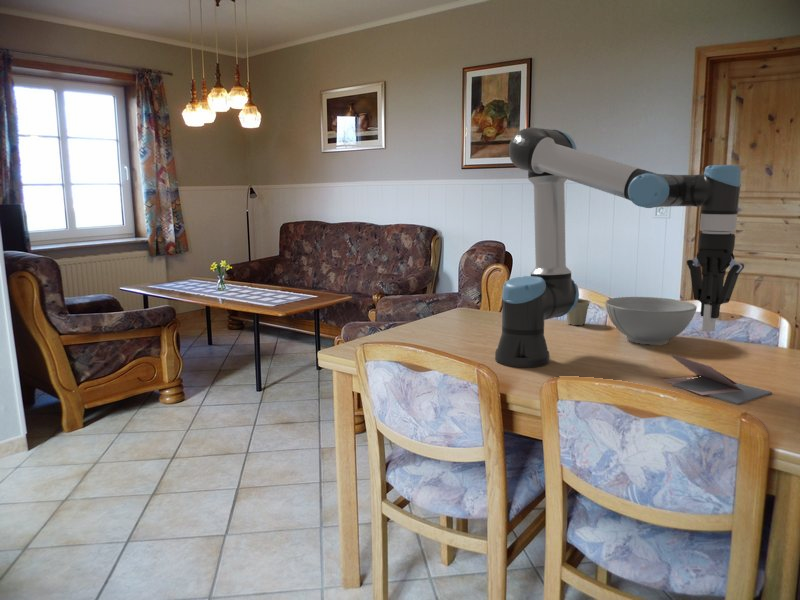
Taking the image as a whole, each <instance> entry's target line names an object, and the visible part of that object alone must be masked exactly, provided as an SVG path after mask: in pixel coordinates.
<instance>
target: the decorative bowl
mask: <svg viewBox="0 0 800 600" xmlns="http://www.w3.org/2000/svg"><path fill="white" fill-rule="evenodd" d="M604 304H605V309H606V313H607V315H608V317H609V320H610V321H611V322H612V324H613V325H614V327H615V328H616V329H617V330H618V331H619V332H620V333H621V334H623V335H625V336H626V339H628V340H627V341H629V342H630V343H634V342H635V343H634V344H638V343H640V345H645V344H650V345H649V346H661V345H660V344H663V345H666V344H665V343H667V344H668V343H669V341H670V339H673V338H675V337H677V336H678V335H680V334H681V333H682V332H683V331H685V330H686V329H687V327H688V326H690V323H691V322H692V320H693V318H694V316H695V314H696V311H697V308H698V307H697V305H696V304H694V303H691V302H689V301H685V300H679V299H672V298H666V297H652V296H621V297H620V296H619V297H613V298H608V299H606V300H605V303H604Z"/></svg>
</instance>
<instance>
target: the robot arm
mask: <svg viewBox="0 0 800 600" xmlns="http://www.w3.org/2000/svg"><path fill="white" fill-rule="evenodd" d="M508 155H509V159H510V161H511V163H512V164H513V165H514V166H515V167H516V168H518V169H520V170H523V171H527V179H528V181H529V182H530V183H531V184H532V185H533V202H534V205H533V206H534V209H533V211H534V217H533V218H534V246H535V247H534V248H535V250H534V252H535V253H534V255H535V257H534V258H535V267H534V269H532V270H531V272H530V275H529V276H527V275H526V276H525V275H524V276H518V277H517V276H515V277H514V278H509V279H508V280H506V281H505V282H504V283H503V286H502V293H501V299H502V305H501V306H502V308H501V309H502V310H501V315H502V316H501V334H500V339H499V342H498V344H497V348H496V349H495V352H494V353H495V355H494V359H495V361H496V362H497V363H498V362H499V364H501V365H504V366H508V367H515V368H537V367H543V366H546V365H548V364H550V357H551V356H550V351H549V350H548V345H547V341H546V338H545V321H546V320H550V319H554V318H560V317H563V316H566V314H567V313H569V312H571V311H572V310H573V309H574V308H575V306H576V305H577V302H578V299H580V291H579V287H578V285H577V283H575V280H574V279H572V270H571V269H570V268H568V267H567V262H566V261H567V260H566V209H565V208H566V205H565V204H566V202H565V197H566V196H565V183H566V181H567V180H568V181H571V182H574V183H578V184H580V185H584V186H586V187H590V188H592V189H595V190H599V191H601V192H605V193H607V194H610V195H614V196H617V197H620V198H623V199H626V200H628V201H630V202H632V204H633V205H635V206H638V207H640V208H645V209H652V208H666V207H667V208H670V207H671V208H672V207H701V210H700V220H699V221H700V222H699V231H701V233H699V235H698V245H697V248H698V252H697V253H696V257H694V258H692V259H687V260H686V264H687V267H688V268H689V272H690V280H691V288H692V294H693V299H694V300H697V301H698V302H700V303H701V305H700V317H702V318H703V319H702V329H701V331H702V332H705V333H706V332H707V333H709V332H714V331H715V330H716V319H718V318H719V317H720V311H721V305H723V304H727V303H729V302H730V301H731V297H732V294H733V291H734V288H735V286H736V283H737V281H738V277H739V275H740V274H741V272H742V271H743V269H744V268H745V265H744V264H743V263H739V262H738V261H736V259H735V255H734V249H735V242H736V235H735V233H733V232H736V231H737V221H738V212H739V211H738V210H739V201H740V194H741V187H742V184H741V182H742V181H741V180H742V177H741V173H742V170H741V167H740V166H739V165H737V164H714V165H707V166H705V168H704V171H703V173H702V174H701V173H700V174H662V173H656V172H653V171H649V170H646V169H642V168H639V167H635V166H632V165H630V164H629V165H628V164H627V163H626V164H625V163H623V162H618V161H616V160H611V159H608V158H604V157H602V156H598V155H595V154H593V153H592V154H591V153H588V152H585V151H582V150H578V149H577V145H576V142H575V141H574V138H572V136H570V135H569V134H568V133H567V132H564V131H561V130H558V129H548V128H538V127H526V128H523V129H520V130H519V131H517V133H515V135H513V136H512V138H511V140H510V142H509V146H508ZM727 270H728V272H727ZM726 272H727V275H726ZM725 276H726V277H725Z"/></svg>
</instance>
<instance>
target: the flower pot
mask: <svg viewBox="0 0 800 600" xmlns="http://www.w3.org/2000/svg"><path fill="white" fill-rule="evenodd" d="M590 303H591V301H590V300H588V299H585V298H584V299H582V298H579V299H578V302H577V305H576V306H575V308H574V309H573V310H572V311H571V312H569V313H567V314H565V316H566V323H568V325H569V324H571V325H572V326H574V325H581V326H584V325H583V324H585V325H586V321H587V316H588V309H589V307H590Z"/></svg>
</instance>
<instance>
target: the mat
mask: <svg viewBox="0 0 800 600" xmlns="http://www.w3.org/2000/svg"><path fill="white" fill-rule="evenodd" d="M736 383H737V384H735V385H736V386H737V387H739V388H740V389H742V390H743V391H736V392H727V393H717V394H708V395H705V396H706V397H710V398H713V399H717V400H720V401H725V402H726V403H727V402H728V403H731V404H733V405H737V406H738V405H741V404H744V403H748V402H750V401H753V400H756V399H759V398H762V397H766V396H768V395H772V394H773V392H772V391H770V390H766V389H762V388H759V387H754V386H751V385H747V384H744V383H743V384H742V383H738V382H736ZM672 386H673V387H675V388H679V389H683V390H686V391H689V392H691V391H690V390H694V391H698V392H708V391H717V390H727V389H736V388H734V387H731V386H728V385H725V384H723V383H720V382H717V381H714V380H712V379H709V378H706V377H703V376H701V377H698V378H694V379H690V380H686V381H683V382H679V383H675V384H672ZM685 388H686V389H685ZM687 389H690V390H687ZM771 393H772V394H771Z"/></svg>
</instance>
